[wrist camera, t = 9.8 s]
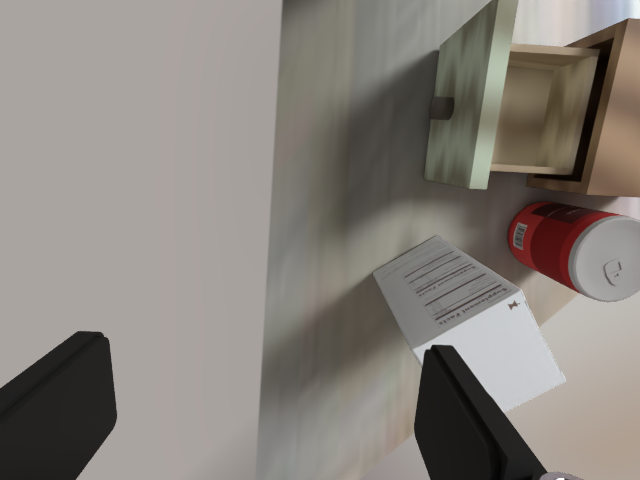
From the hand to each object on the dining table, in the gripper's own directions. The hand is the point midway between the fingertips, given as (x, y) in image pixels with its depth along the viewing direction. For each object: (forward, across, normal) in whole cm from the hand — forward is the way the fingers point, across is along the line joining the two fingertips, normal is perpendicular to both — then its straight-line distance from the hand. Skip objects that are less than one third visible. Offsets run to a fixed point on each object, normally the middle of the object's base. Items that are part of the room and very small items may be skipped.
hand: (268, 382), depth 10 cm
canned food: (+31, -28, +1) cm, 41 cm away
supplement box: (+31, -15, +8) cm, 35 cm away
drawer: (+30, -19, -12) cm, 37 cm away
